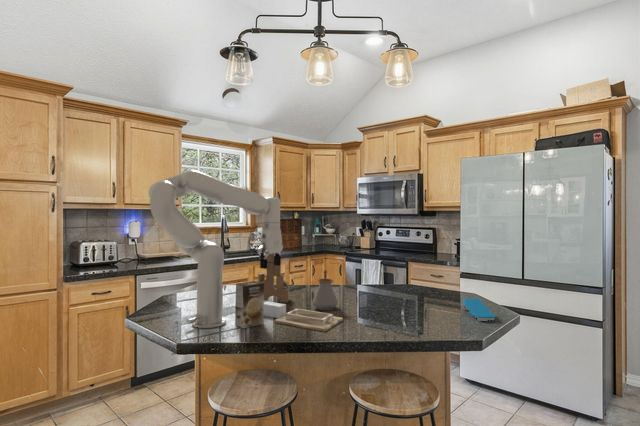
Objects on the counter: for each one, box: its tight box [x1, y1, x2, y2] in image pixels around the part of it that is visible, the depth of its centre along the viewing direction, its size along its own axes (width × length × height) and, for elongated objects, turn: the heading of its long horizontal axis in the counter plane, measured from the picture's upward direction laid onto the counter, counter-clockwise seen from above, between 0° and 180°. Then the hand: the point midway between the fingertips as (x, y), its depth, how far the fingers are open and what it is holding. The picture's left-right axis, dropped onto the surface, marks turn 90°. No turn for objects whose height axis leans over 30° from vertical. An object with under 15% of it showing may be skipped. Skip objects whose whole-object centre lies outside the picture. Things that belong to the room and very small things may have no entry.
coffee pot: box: [312, 269, 339, 311], centre depth 175 cm, size 21×12×15 cm, turn 179°
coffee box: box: [234, 280, 264, 329], centre depth 146 cm, size 9×6×16 cm
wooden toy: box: [257, 254, 290, 304], centre depth 183 cm, size 16×7×25 cm, turn 87°
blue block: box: [462, 298, 496, 319], centre depth 162 cm, size 7×7×18 cm
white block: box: [263, 300, 287, 319], centre depth 159 cm, size 4×13×5 cm, turn 59°
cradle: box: [274, 307, 343, 332], centre depth 150 cm, size 16×22×3 cm
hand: (270, 266), depth 159 cm, fingers open, 9 cm apart
